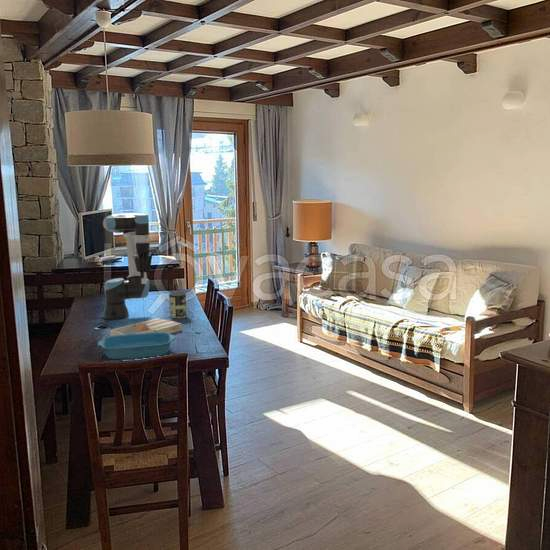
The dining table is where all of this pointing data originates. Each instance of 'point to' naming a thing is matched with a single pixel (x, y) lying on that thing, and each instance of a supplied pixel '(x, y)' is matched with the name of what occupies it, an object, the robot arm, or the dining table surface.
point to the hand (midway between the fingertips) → (144, 283)
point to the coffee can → (177, 305)
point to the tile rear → (140, 327)
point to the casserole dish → (136, 345)
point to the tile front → (130, 332)
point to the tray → (125, 328)
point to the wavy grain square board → (162, 325)
